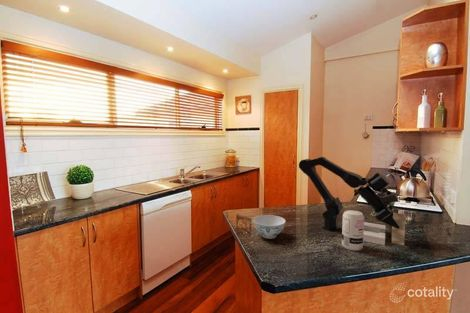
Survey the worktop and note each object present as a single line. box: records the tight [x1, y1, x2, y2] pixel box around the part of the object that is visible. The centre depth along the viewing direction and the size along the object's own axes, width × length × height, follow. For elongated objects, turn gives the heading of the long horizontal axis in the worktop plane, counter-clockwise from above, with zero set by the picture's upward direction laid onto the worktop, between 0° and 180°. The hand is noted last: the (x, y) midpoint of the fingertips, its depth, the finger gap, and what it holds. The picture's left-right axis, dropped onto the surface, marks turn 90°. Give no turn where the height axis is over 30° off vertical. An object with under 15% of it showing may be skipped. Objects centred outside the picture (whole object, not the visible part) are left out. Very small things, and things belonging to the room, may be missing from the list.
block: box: [391, 212, 407, 246], centre depth 111 cm, size 4×4×12 cm
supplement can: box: [341, 209, 365, 251], centre depth 106 cm, size 8×8×15 cm
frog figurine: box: [369, 202, 399, 217], centre depth 141 cm, size 10×18×15 cm, turn 23°
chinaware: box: [253, 214, 286, 240], centre depth 118 cm, size 15×15×8 cm
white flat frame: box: [363, 221, 386, 246], centre depth 119 cm, size 12×18×3 cm, turn 149°
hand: (398, 224), depth 110 cm, fingers open, 9 cm apart
